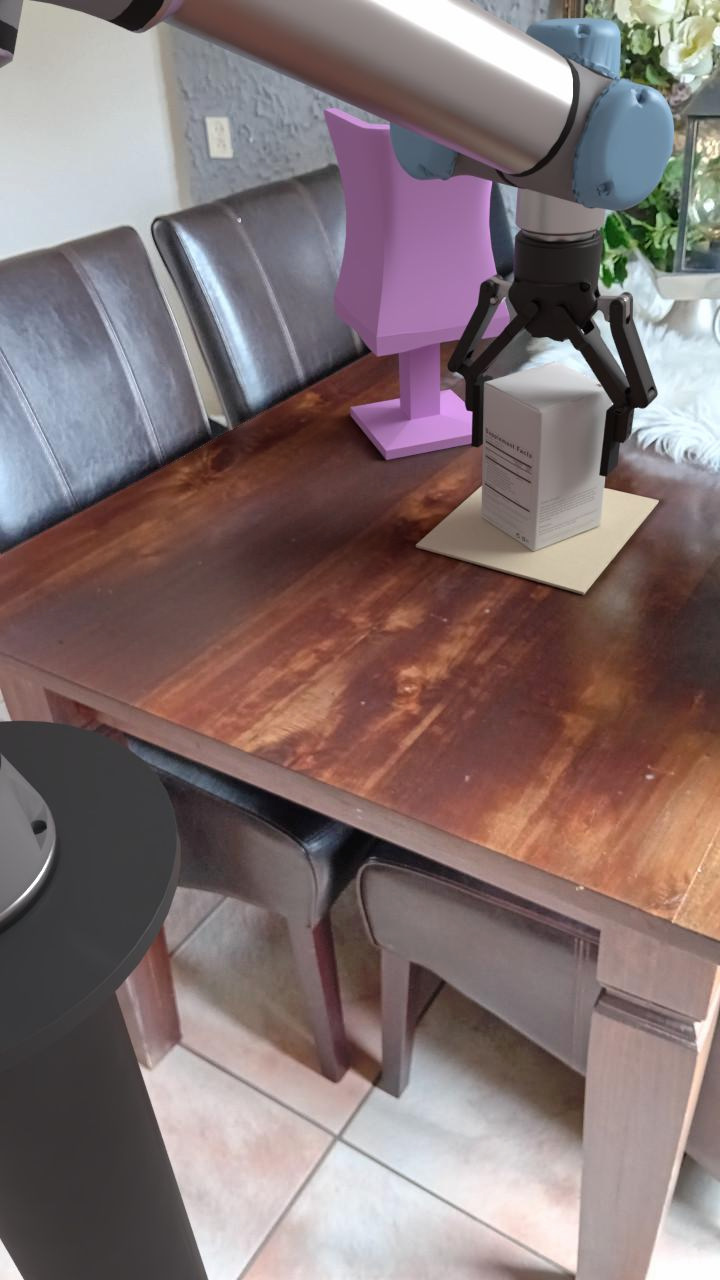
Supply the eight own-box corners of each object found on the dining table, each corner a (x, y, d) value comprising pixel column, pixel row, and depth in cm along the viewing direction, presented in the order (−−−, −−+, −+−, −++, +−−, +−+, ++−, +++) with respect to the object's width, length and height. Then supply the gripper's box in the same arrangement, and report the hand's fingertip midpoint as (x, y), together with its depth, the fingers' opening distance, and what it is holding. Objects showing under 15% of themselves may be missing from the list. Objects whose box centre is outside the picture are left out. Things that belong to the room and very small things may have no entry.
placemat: (415, 547, 101) (415, 544, 101) (504, 467, 114) (504, 464, 114) (583, 595, 93) (584, 592, 92) (658, 502, 106) (658, 500, 106)
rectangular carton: (546, 492, 108) (555, 358, 99) (602, 526, 102) (618, 386, 93) (477, 517, 105) (481, 379, 96) (531, 553, 98) (540, 410, 90)
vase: (454, 393, 132) (456, 94, 111) (504, 440, 120) (517, 114, 99) (341, 414, 128) (321, 108, 108) (381, 464, 116) (368, 131, 95)
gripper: (717, 234, 83) (679, 467, 95) (452, 206, 95) (449, 417, 107) (688, 257, 78) (652, 500, 90) (412, 225, 90) (414, 444, 102)
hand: (542, 456), depth 99 cm, fingers open, 13 cm apart
